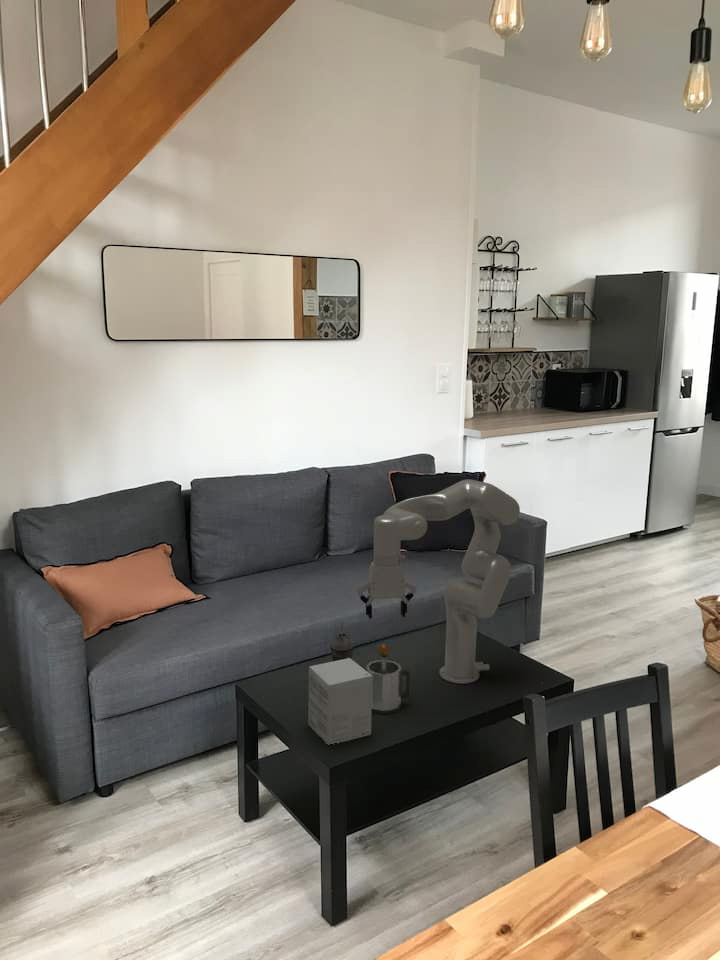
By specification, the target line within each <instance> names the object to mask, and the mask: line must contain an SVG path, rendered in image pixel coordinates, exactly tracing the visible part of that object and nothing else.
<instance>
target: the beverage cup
mask: <svg viewBox="0 0 720 960" xmlns="http://www.w3.org/2000/svg"><path fill="white" fill-rule="evenodd" d="M343 622H344V621H343ZM343 622H340V629H341V630H340V633H338V634H337V635H335V636H334V637H333V639H332V640H331V643H330V653H331V657H332V658H331V659H332V662H333V661H338V660H343V659H347V658H350V659H352V657H353V654H354V647H355V645H354V641H353V640H352V637H350V636H349V635H348V634H346V633H344V623H343Z"/></svg>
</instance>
